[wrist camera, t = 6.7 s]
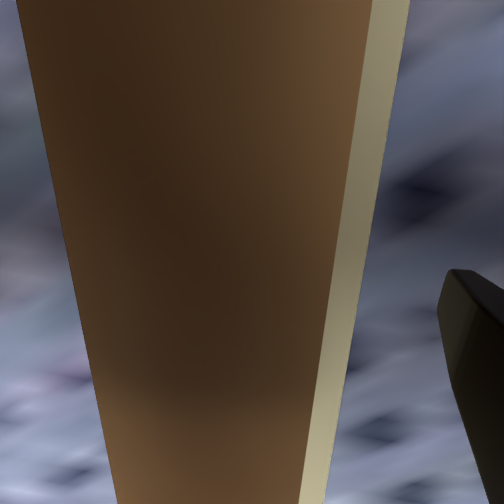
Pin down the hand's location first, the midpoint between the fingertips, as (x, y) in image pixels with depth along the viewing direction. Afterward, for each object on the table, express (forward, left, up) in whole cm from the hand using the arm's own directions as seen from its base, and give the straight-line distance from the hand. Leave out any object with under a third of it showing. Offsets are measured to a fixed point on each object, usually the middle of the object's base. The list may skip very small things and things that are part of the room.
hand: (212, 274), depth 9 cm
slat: (0, 0, -3) cm, 3 cm away
